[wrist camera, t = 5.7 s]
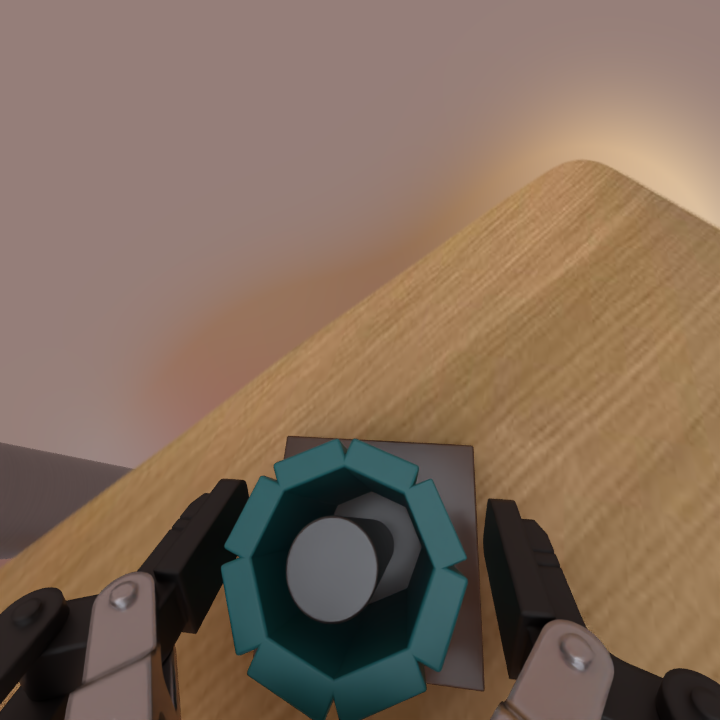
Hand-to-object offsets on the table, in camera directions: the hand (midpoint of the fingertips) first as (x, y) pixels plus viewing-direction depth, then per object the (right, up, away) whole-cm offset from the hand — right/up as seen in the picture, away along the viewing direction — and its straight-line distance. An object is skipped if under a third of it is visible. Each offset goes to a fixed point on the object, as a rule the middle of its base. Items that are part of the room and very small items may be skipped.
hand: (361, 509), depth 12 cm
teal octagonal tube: (0, -3, +4) cm, 5 cm away
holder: (+1, -3, +5) cm, 6 cm away
